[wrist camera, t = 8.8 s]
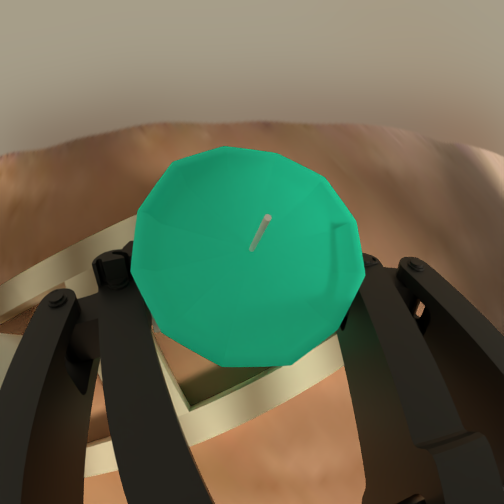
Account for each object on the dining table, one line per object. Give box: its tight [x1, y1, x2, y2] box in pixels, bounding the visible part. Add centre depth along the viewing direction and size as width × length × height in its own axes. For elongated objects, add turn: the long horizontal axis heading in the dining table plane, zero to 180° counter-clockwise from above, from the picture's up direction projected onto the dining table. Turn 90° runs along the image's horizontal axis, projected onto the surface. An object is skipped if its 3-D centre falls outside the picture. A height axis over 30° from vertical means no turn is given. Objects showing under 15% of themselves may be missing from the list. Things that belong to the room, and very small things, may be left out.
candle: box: [130, 146, 365, 367], centre depth 11 cm, size 6×6×12 cm
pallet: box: [0, 214, 344, 478], centre depth 15 cm, size 28×14×2 cm, turn 117°
